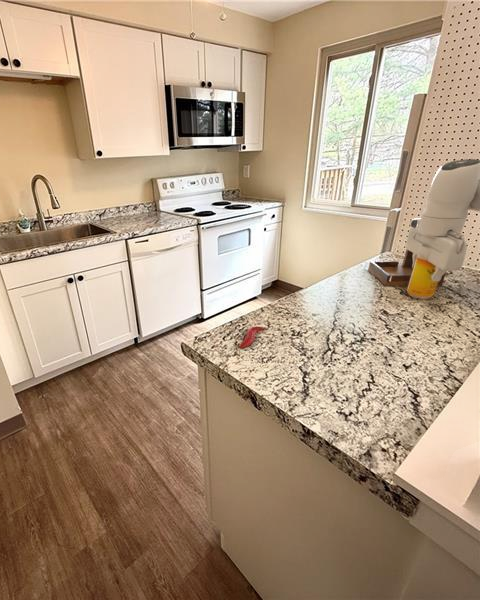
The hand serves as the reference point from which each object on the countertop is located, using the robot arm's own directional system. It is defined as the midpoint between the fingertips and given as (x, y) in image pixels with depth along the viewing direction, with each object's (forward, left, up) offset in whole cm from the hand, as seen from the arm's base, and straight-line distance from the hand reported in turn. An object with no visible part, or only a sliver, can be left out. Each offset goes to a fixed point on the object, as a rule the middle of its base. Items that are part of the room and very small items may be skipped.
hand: (424, 274), depth 89 cm
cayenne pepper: (+49, +28, -7) cm, 57 cm away
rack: (-2, -14, -7) cm, 16 cm away
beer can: (0, 0, -7) cm, 7 cm away
